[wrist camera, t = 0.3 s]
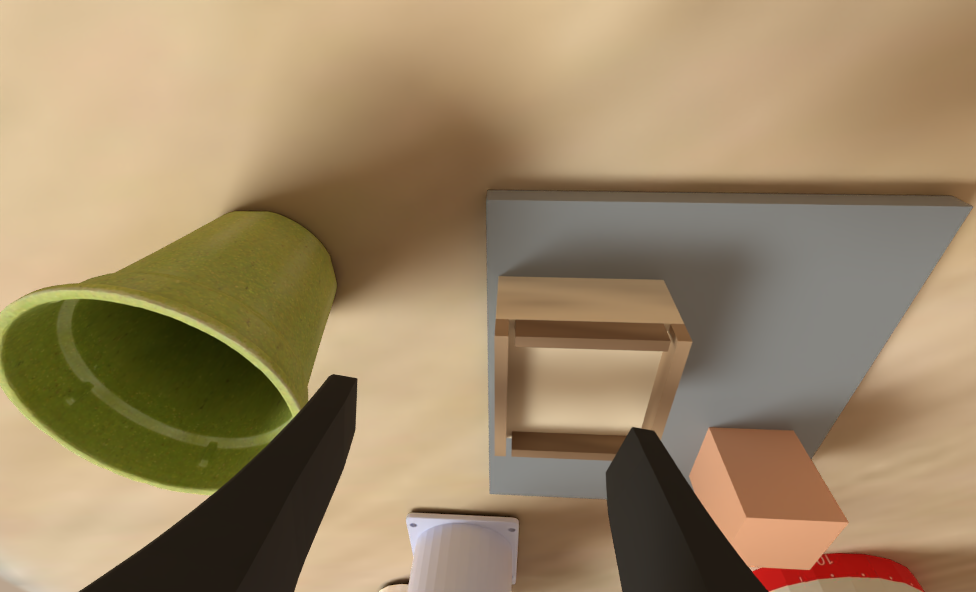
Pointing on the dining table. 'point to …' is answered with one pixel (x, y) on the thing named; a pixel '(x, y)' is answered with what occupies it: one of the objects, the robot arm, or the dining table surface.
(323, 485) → the robot arm
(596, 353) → the birch socket block
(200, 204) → the dining table surface
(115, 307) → the plant pot
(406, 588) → the cup
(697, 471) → the terracotta block
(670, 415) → the grey board
